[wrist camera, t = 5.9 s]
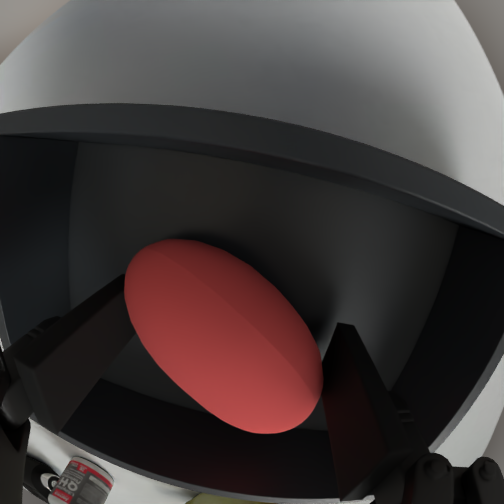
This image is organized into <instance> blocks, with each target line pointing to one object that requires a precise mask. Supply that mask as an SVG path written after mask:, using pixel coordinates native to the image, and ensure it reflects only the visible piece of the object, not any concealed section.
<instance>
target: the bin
mask: <svg viewBox="0 0 504 504" xmlns="http://www.w3.org/2000/svg"><path fill="white" fill-rule="evenodd" d="M166 239H184V240H195V241H199V242H202V243H205V244H208V245H211V246H214V247H217V248H220V249H222V250H225V251H226V252H228V253H230V254H232V255H233V256H235V257H237V258H238V259H240V260H242V261H244V262H245V263H247V264H249V265H250V266H252V267H253V268H254V269H255V270H256V271H257V272H259V273H260V274H261V275H262V276H263V277H264V278H266V279H267V280H268V281H269V282H270V283H271V284H273V285H274V286H275V287H276V288H277V289H278V290H279V291H280V292H281V294H282V295H283V296H284V297H285V298H286V299H287V300H288V301H289V303H290V304H291V305H292V306H293V307H294V309H295V310H296V311H297V313H298V314H299V315H300V317H301V318H302V319H303V321H304V322H305V324H306V325H307V327H308V329H309V331H310V332H311V334H312V336H313V338H314V340H315V342H316V344H317V346H318V349H319V351H320V354H321V361H322V360H323V358H324V356H325V353H326V351H327V348H328V346H329V343H330V341H331V338H332V335H333V333H334V330H335V327H336V325H337V322H339V323H345V324H351V325H354V326H355V328H356V330H357V332H358V333H359V335H360V337H361V339H362V341H363V343H364V345H365V347H366V349H367V351H368V353H369V355H370V357H371V359H372V361H373V363H374V365H375V367H376V369H377V371H378V373H379V375H380V377H381V379H382V381H383V383H384V385H385V387H386V389H387V391H396V392H397V393H398V394H399V395H400V396H401V397H402V398H403V399H404V400H405V402H406V404H407V406H408V408H409V410H410V413H411V414H412V416H413V418H414V422H416V424H417V426H418V428H419V430H420V432H421V434H422V436H423V438H424V440H425V442H426V444H427V447H428V449H429V451H430V453H434V452H435V451H436V450H437V449H438V448H439V446H440V445H441V444H442V443H443V442H444V441H445V440H446V438H447V437H448V436H449V435H450V434H451V432H452V431H453V430H454V429H455V427H456V426H457V425H458V424H459V422H460V421H461V420H462V418H463V417H464V416H465V414H466V413H467V412H468V410H469V409H470V408H471V406H472V405H473V403H474V402H475V400H476V399H477V397H478V396H479V394H480V393H481V391H482V390H483V388H484V387H485V385H486V384H487V382H488V380H489V379H490V377H491V375H492V374H493V372H494V370H495V369H496V367H497V365H498V363H499V362H500V360H501V358H502V356H503V354H504V206H503V205H501V204H500V203H498V202H496V201H494V200H493V199H491V198H489V197H487V196H485V195H483V194H482V193H480V192H478V191H476V190H474V189H472V188H470V187H468V186H466V185H464V184H462V183H460V182H458V181H456V180H454V179H452V178H450V177H448V176H446V175H443V174H441V173H439V172H437V171H434V170H432V169H430V168H428V167H425V166H423V165H420V164H418V163H416V162H413V161H411V160H408V159H406V158H403V157H400V156H398V155H395V154H392V153H390V152H387V151H384V150H381V149H379V148H376V147H373V146H370V145H367V144H364V143H361V142H357V141H354V140H351V139H348V138H344V137H341V136H338V135H334V134H331V133H327V132H323V131H320V130H316V129H312V128H308V127H304V126H300V125H295V124H291V123H287V122H282V121H277V120H273V119H268V118H262V117H257V116H251V115H246V114H240V113H233V112H227V111H220V110H212V109H204V108H195V107H184V106H173V105H158V104H133V103H99V104H75V105H61V106H50V107H41V108H33V109H26V110H19V111H13V112H7V113H2V114H0V338H1V341H2V345H3V348H4V350H6V349H7V348H8V347H9V346H11V345H12V344H13V343H15V342H16V341H17V340H18V339H20V338H21V337H22V336H24V335H25V334H28V332H29V331H30V330H32V329H33V328H34V329H35V327H36V326H37V325H38V324H40V323H41V322H42V321H44V320H46V319H48V318H51V317H54V316H59V317H61V318H62V317H63V316H64V315H66V314H67V313H68V312H70V311H71V310H72V309H74V308H75V307H76V306H78V305H79V304H81V303H82V302H83V301H85V300H86V299H87V298H89V297H90V296H91V295H93V294H94V293H96V292H97V291H98V290H100V289H101V288H103V287H104V286H105V285H107V284H108V283H110V282H111V281H113V280H114V279H115V278H117V277H118V276H120V275H121V274H125V275H126V271H127V268H128V266H129V264H130V262H131V260H132V259H133V257H134V256H135V255H136V254H137V253H138V252H139V251H140V250H141V249H143V248H144V247H146V246H148V245H150V244H153V243H156V242H159V241H162V240H166ZM30 418H31V419H32V420H34V421H35V422H37V423H38V424H39V422H38V420H37V418H36V416H35V414H34V412H33V413H32V414H31V415H30ZM40 425H41V424H40ZM41 426H42V425H41ZM43 427H44V426H43ZM44 428H45V427H44ZM46 429H47V428H46ZM47 430H49V429H47ZM49 431H50V430H49ZM51 432H52V431H51ZM52 433H53V432H52ZM54 434H55V433H54ZM56 435H57V434H56ZM57 436H59V437H61V438H62V439H64V440H66V441H68V442H69V443H71V444H73V445H75V446H77V447H79V448H81V449H83V450H84V451H86V452H88V453H90V454H93V455H95V456H97V457H99V458H101V459H103V460H105V461H108V462H110V463H112V464H114V465H117V466H119V467H122V468H124V469H127V470H129V471H132V472H134V473H137V474H140V475H143V476H145V477H148V478H151V479H154V480H157V481H161V482H164V483H167V484H170V485H174V486H178V487H181V488H185V489H189V490H193V491H197V492H202V493H206V494H211V495H216V496H222V497H227V498H234V499H240V500H248V501H256V502H267V503H281V504H337V503H350V502H361V501H369V500H375V498H374V494H373V491H372V492H371V493H370V494H369V495H368V496H366V497H365V498H364V499H363V500H354V501H342V502H340V499H339V492H338V486H337V479H336V473H335V467H334V461H333V455H332V450H331V444H330V438H329V433H328V427H327V422H326V417H325V412H324V406H323V401H322V396H320V398H319V400H318V402H317V404H316V406H315V408H314V410H313V411H312V413H311V414H310V415H309V416H308V418H307V419H305V420H304V421H303V422H302V423H301V424H299V425H298V426H296V427H294V428H292V429H290V430H287V431H284V432H280V433H270V434H261V433H252V432H248V431H245V430H242V429H240V428H237V427H235V426H232V425H230V424H228V423H226V422H224V421H223V420H221V419H219V418H218V417H216V416H215V415H214V414H212V413H211V412H209V411H208V410H206V409H205V408H204V407H203V406H202V405H200V404H199V403H198V402H197V401H196V400H194V399H193V398H192V397H191V396H190V395H188V394H187V393H186V392H185V391H184V390H183V389H182V388H180V387H179V386H178V385H177V384H176V383H175V382H174V381H173V380H172V379H171V378H170V377H169V376H168V375H167V374H166V373H165V372H164V371H163V370H162V369H161V368H160V367H159V365H158V364H157V363H156V362H155V360H154V359H153V358H152V356H151V355H150V354H149V352H148V351H147V350H146V348H145V347H144V345H143V344H142V342H141V340H140V338H139V336H138V334H137V332H136V334H135V335H134V336H133V337H132V339H131V340H130V341H129V342H128V344H127V345H126V346H125V347H124V348H123V350H122V351H121V352H120V353H119V355H118V356H117V357H116V358H115V360H114V361H113V362H112V364H111V365H110V366H109V367H108V369H107V370H106V371H105V372H104V374H103V375H102V376H101V378H100V379H99V380H98V381H97V383H96V384H95V385H94V387H93V388H92V389H91V390H90V392H89V393H88V394H87V396H86V397H85V398H84V400H83V401H82V402H81V404H80V405H79V406H78V408H77V409H76V410H75V412H74V413H73V414H72V416H71V417H70V418H69V420H68V421H67V422H66V424H65V425H64V426H63V428H62V429H61V431H60V432H59V433H58V435H57Z"/></svg>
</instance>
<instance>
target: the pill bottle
mask: <svg viewBox="0 0 504 504" xmlns="http://www.w3.org/2000/svg"><path fill="white" fill-rule="evenodd" d="M113 483H114V482H113V479H112V478H111V477H110V475H108V474H107V473H106V472H105V471H104V470H102V469H101V468H99V467H98V466H96V465H95V464H93V463H91V462H89V461H87V460H85V459H83V458H80V457H73V458H72V459H71V461H70V462H69V464H68V465H67V467H66V468H65V470H64V472H63V473H62V475H61V477H60V478H59V480H58V482H57V483H56V485H55V486H54V488H53V489H52V491H51V492H50V494H49V496H48V501H49V503H50V504H104V503H105V501H106V499H107V496H108V494H109V492H110V490H111V488H112V486H113Z"/></svg>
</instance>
